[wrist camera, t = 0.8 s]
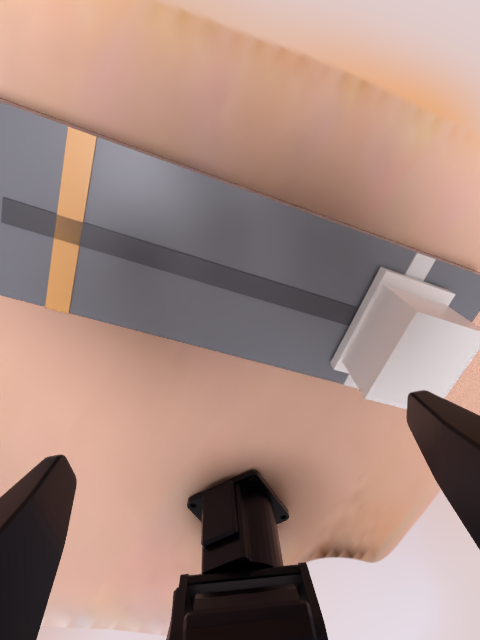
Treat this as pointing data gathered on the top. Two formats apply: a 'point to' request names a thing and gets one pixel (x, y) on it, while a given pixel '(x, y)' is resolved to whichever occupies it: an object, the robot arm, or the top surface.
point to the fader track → (187, 250)
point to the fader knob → (406, 340)
